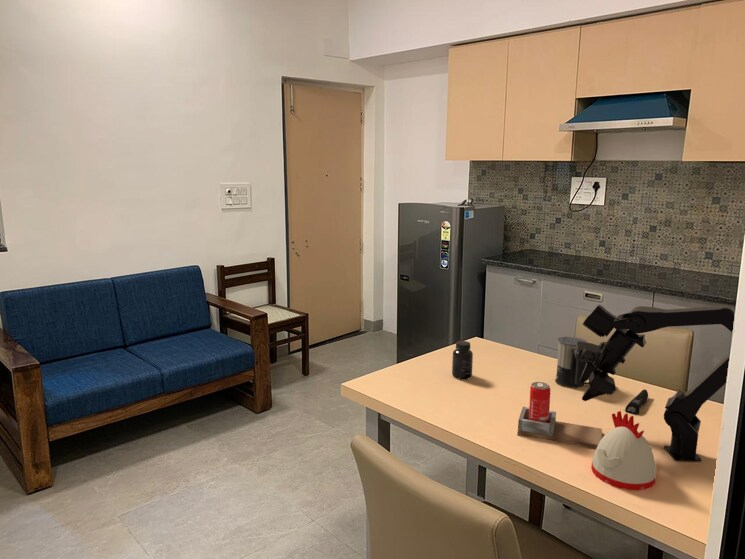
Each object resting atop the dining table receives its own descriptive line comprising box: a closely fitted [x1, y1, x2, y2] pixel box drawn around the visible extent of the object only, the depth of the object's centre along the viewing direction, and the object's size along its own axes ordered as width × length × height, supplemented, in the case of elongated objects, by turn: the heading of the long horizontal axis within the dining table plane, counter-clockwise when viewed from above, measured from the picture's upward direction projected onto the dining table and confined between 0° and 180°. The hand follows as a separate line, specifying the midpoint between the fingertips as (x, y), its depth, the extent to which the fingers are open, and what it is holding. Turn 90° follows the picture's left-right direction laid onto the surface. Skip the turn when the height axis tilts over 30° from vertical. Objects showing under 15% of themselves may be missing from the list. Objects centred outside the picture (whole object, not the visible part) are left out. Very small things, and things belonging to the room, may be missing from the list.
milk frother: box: [554, 336, 589, 389], centre depth 185 cm, size 14×16×15 cm
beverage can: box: [529, 381, 551, 423], centre depth 153 cm, size 5×5×12 cm
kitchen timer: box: [591, 410, 657, 491], centre depth 132 cm, size 14×14×15 cm
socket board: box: [517, 406, 603, 450], centre depth 153 cm, size 21×10×4 cm, turn 68°
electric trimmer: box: [624, 388, 649, 416], centre depth 171 cm, size 4×16×3 cm, turn 141°
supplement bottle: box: [451, 340, 474, 380], centre depth 192 cm, size 7×7×12 cm
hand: (582, 390), depth 154 cm, fingers open, 9 cm apart
